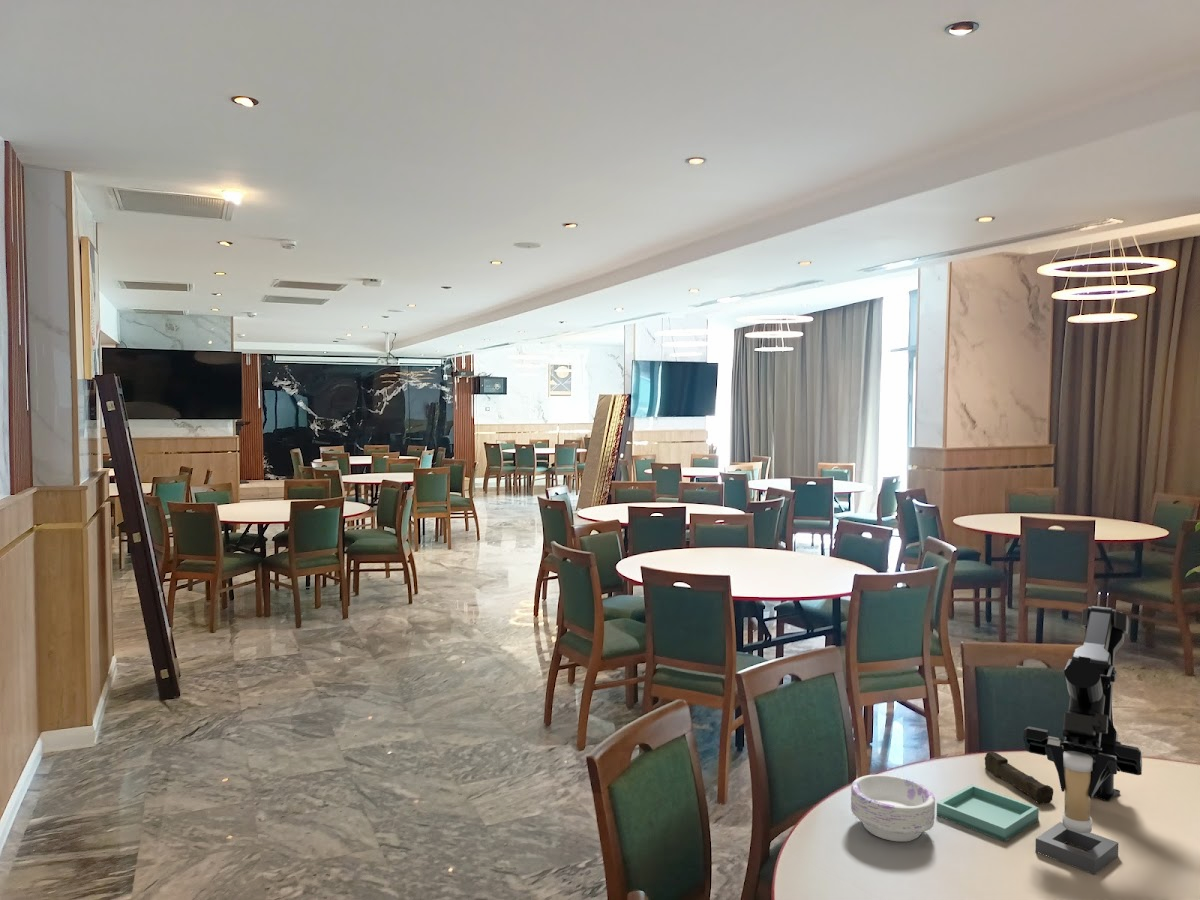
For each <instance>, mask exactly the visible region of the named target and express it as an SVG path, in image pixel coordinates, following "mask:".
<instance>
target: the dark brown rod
mask: <svg viewBox="0 0 1200 900" xmlns="http://www.w3.org/2000/svg"><path fill="white" fill-rule="evenodd" d="M984 766H985V769H986V770H987V771H988V772H990V773H991V774H992V775H993V776H994V777H996V778H999V779H1003V780H1005V781H1007V783H1009V784H1011V785H1013V786H1014V787H1016V788H1017V789H1019V790H1020V791H1022V792H1023V793H1025V794H1026V795H1028V796H1029V797H1030V798H1032V799H1035V803H1037V805H1045V804H1046V805H1047V804H1050V803H1051V802H1052V801H1053V795H1054V789H1053V787H1051V786H1050V785H1048V784H1044V783H1042V782H1040V781H1039V780H1038V779H1035V778H1034V777H1033V776H1031V775H1029V774H1026V773H1024V772H1023V771H1021V770H1020V769H1018V768H1016V767H1015V766H1013V765H1012V764H1010V763H1009V761H1008V759H1007V758H1006V757H1004V756H1002V754H1001V755H1000V754H999V753H997V752H995V751H992V750H989V751H988V752H986V754H985V756H984Z"/></svg>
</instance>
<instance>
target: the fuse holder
mask: <svg viewBox="0 0 1200 900" xmlns="http://www.w3.org/2000/svg"><path fill="white" fill-rule="evenodd" d="M1062 823H1063V821H1059V822H1057V823H1056V824H1055V825H1053V826H1052V827H1050V828H1049V829H1047V830H1046V831H1044V832H1043V833H1041V834H1039V835H1038V836H1037V837H1035V853H1038V852H1039V854H1040V853H1041V854H1040V855H1043V854H1044V855H1043V856H1045V855H1047V856H1046V857H1048V856H1049V857H1048V858H1050V857H1051V858H1050V859H1054V860H1055V859H1056V861H1059V862H1061V863H1064V864H1066V865H1068V866H1071V867H1074V868H1076V869H1079V870H1082V871H1083V872H1087V873H1089V874H1092V875H1093V876H1094V875H1097V874H1098V873H1099V872H1100V871H1102V870H1103V869H1105V867H1107V866H1108V865H1109V864H1110V863H1111V862H1114V860H1115V859H1116V858H1118V857H1119V842H1118V841H1117V840H1112V839H1109V838H1106V837H1104V836H1102V835H1099V834H1096V833H1092V832H1089V833H1077V832H1073V831H1070V830H1068V829H1066V828H1065V827H1064V826H1063V824H1062ZM1064 843H1065V844H1064ZM1066 843H1067V844H1066ZM1069 844H1070V845H1069ZM1072 845H1073V846H1072ZM1074 846H1075V847H1074ZM1077 847H1078V848H1077ZM1085 850H1086V851H1085Z"/></svg>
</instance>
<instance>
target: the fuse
mask: <svg viewBox="0 0 1200 900" xmlns="http://www.w3.org/2000/svg"><path fill="white" fill-rule="evenodd" d="M1063 765H1064V767H1065V790H1064V810H1063V811H1062V824H1063V826H1064V827H1065V828H1066V829H1068V830H1070V831H1073V832H1077V833H1089V832H1090V833H1092V829H1093V828H1092V827H1093V818H1092V817H1091V798H1089V788H1090V779H1091V771H1092V770H1093V758H1092V757H1091V756H1090V755H1088V754H1085V753H1082V752H1077V751H1064V753H1063Z"/></svg>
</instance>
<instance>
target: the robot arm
mask: <svg viewBox="0 0 1200 900" xmlns="http://www.w3.org/2000/svg"><path fill="white" fill-rule="evenodd" d="M1081 615H1082V616H1081V627H1082V628H1083V629H1084V630H1085V633H1084V638H1083V643H1082V645H1080V646H1079V647H1077V648H1074V650H1073V653H1072V658H1068V660H1067V662H1066V665H1065V667H1064V672H1063V673H1064V678H1065V681H1066V687H1067V692H1068V694H1069V696H1070V697H1069V703H1068V711H1065V712H1064V713H1063V715H1064V716H1063V728H1062V736H1063V737H1064V739H1062V738H1060V737H1055V736H1050V732H1049V730H1048V729H1044V728H1038V727H1033V726H1027V727H1026V728H1024V730H1023V737H1022V739H1023V742H1024V747H1025V750H1026V751H1027V752H1028V753H1030V754H1036V755H1039V756H1044V757H1045V756H1046V758H1047V760H1048V761H1050V762H1053V763H1054V766H1055V769H1056V773H1057V775H1058V779H1059V786H1060V788H1061V789H1060V790H1061V792H1064V793H1065V767H1064V765H1063V753H1064V752H1066V751H1077V752H1082V753H1085V754H1088V755H1090V756H1091V757H1092V758H1093V770H1092V771H1091V779H1090V788H1089V798H1090V799H1093V798H1096V799H1098V800H1099V799H1100V800H1102V801H1106V802H1109V801H1111V800H1113V799H1114V798H1116V797H1117V796H1118V795H1120V794H1121V790H1119V789H1116V788H1115V787H1114V785H1115V784H1114V783H1115V781H1114V780H1115V775H1117V774H1118V772H1120V773H1124V774H1131V775H1136V776H1142V775H1143V772H1142V771H1143V756H1142V755H1143V754H1142V751H1141V749H1140V748H1139V747H1136V746H1132V745H1128V744H1127V745H1126V744H1122V742H1121V741H1119V734H1118V732H1117V730H1116V728H1115V726H1114V724H1113V722H1112V721H1111V719H1112V718H1111V717H1112V703H1113V686H1114V683H1115V682H1116V681H1117V679H1118V671H1117V670H1116V667H1115V657H1116V656H1115V655H1116V653H1117V652H1118V651H1119V649H1121V647H1122V646H1123V644H1124V643H1125V635H1128V634H1129V626H1130V625H1129V623H1130V621H1129V617H1128V615H1127V614H1126V613H1123V612H1122V611H1117V610H1116V609H1114V608H1112V607H1106V606H1098V605H1092V606H1088V607H1087V608H1085V609H1082V614H1081Z"/></svg>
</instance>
